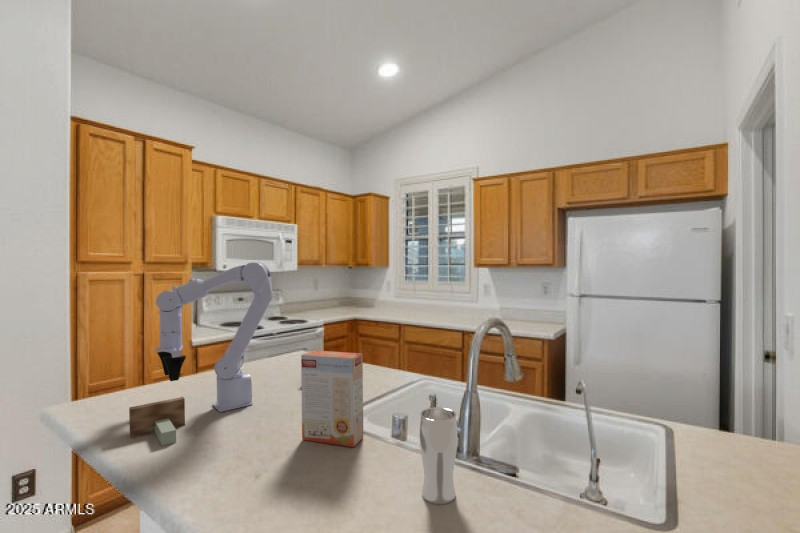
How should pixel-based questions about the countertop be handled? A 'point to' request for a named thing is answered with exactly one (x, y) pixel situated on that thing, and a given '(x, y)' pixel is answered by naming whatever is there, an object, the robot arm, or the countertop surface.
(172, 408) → the walnut plate
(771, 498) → the countertop surface
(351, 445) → the cracker box
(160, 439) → the slotted rail
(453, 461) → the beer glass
